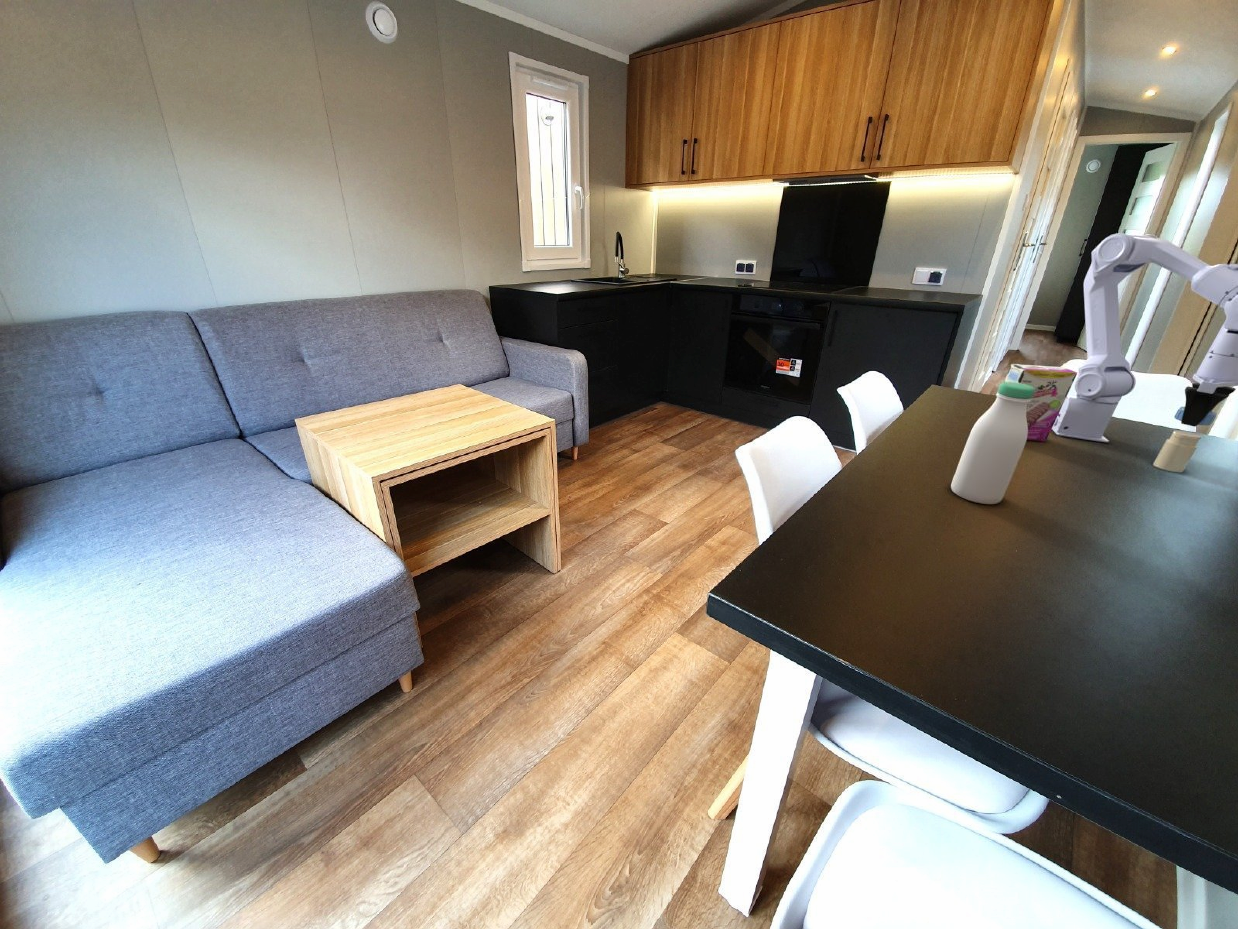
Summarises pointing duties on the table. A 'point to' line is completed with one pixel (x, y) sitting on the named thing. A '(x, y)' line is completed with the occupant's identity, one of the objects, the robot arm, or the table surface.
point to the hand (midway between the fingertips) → (1191, 422)
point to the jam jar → (1177, 451)
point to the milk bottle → (994, 446)
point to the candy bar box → (1042, 395)
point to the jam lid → (1206, 421)
